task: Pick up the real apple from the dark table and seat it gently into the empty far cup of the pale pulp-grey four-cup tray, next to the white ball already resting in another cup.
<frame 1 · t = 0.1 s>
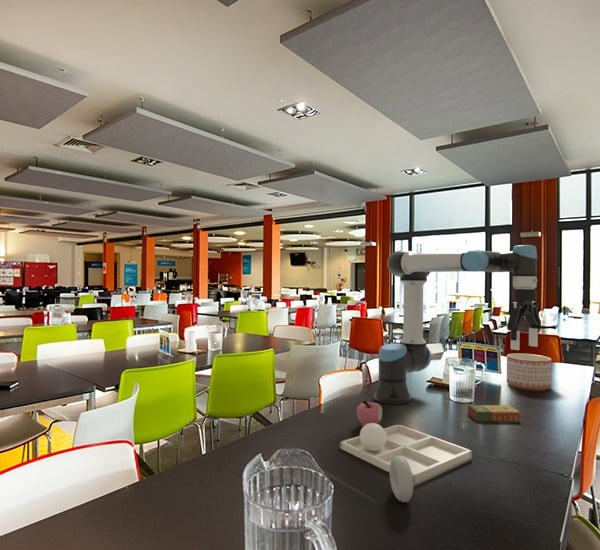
hand: (524, 347, 149), 28 cm above the table, fingers open, 13 cm apart
tray: (404, 454, 124), on the table
planter: (528, 387, 205), on the table
carton: (493, 419, 158), on the table
apple: (369, 429, 145), on the table
white thick disc: (400, 500, 99), on the table
white ball: (373, 450, 125), point 1 cm above the table, touching tray
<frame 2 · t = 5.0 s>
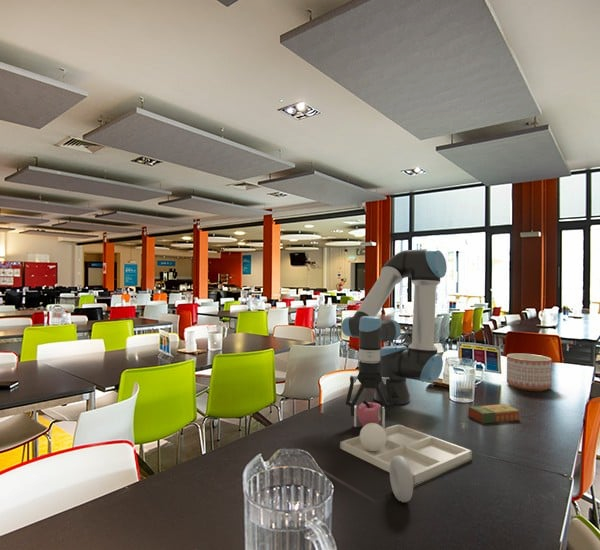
hand: (369, 426, 145), 1 cm above the table, fingers closed on apple, 9 cm apart
apple: (369, 429, 145), on the table, touching gripper
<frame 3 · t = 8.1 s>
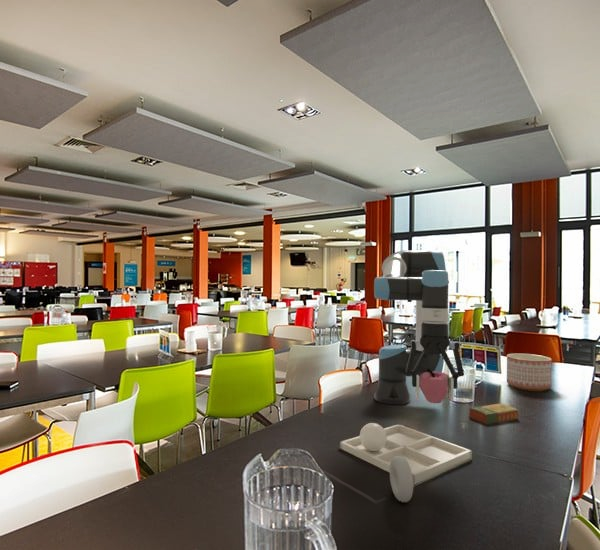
hand: (434, 398, 123), 17 cm above the table, fingers closed on apple, 9 cm apart
apple: (434, 402, 123), point 16 cm above the table, touching gripper
when the fingers open (4 cm above the table, at t = 11.1 s): apple drops 2 cm, resting on tray.
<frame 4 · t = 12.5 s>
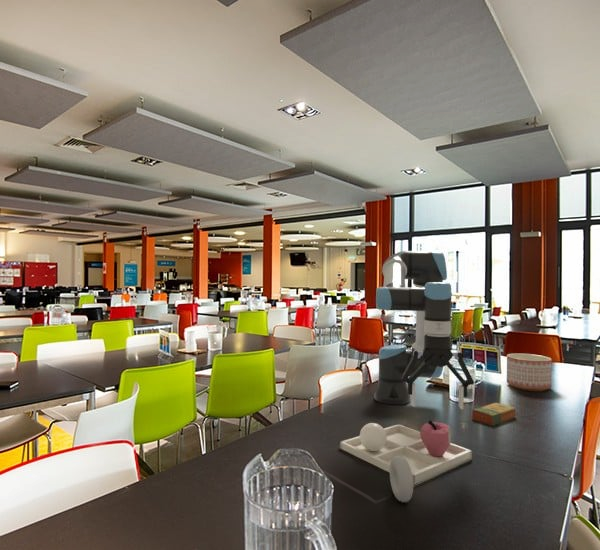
hand: (436, 406, 123), 15 cm above the table, fingers open, 13 cm apart
apple: (435, 455, 123), resting on tray
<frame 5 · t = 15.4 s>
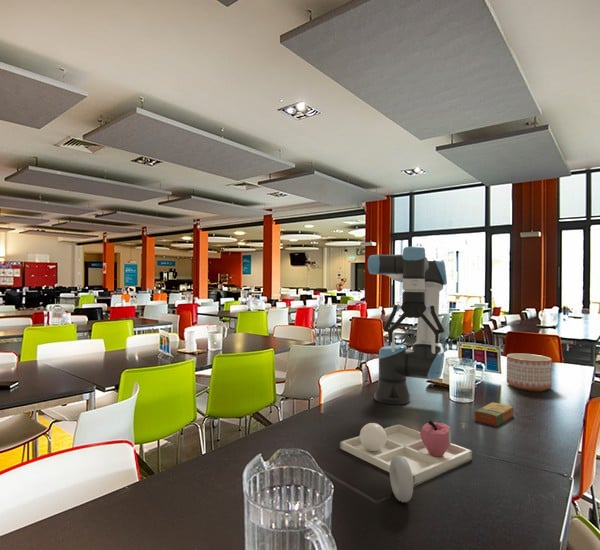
hand: (413, 352, 145), 27 cm above the table, fingers open, 13 cm apart
at the end: apple 0.2 cm from the target spot on the tray, point 0.4 cm above the tray's base; the gripper is holding nothing; white ball moved 0.1 cm from its start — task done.
